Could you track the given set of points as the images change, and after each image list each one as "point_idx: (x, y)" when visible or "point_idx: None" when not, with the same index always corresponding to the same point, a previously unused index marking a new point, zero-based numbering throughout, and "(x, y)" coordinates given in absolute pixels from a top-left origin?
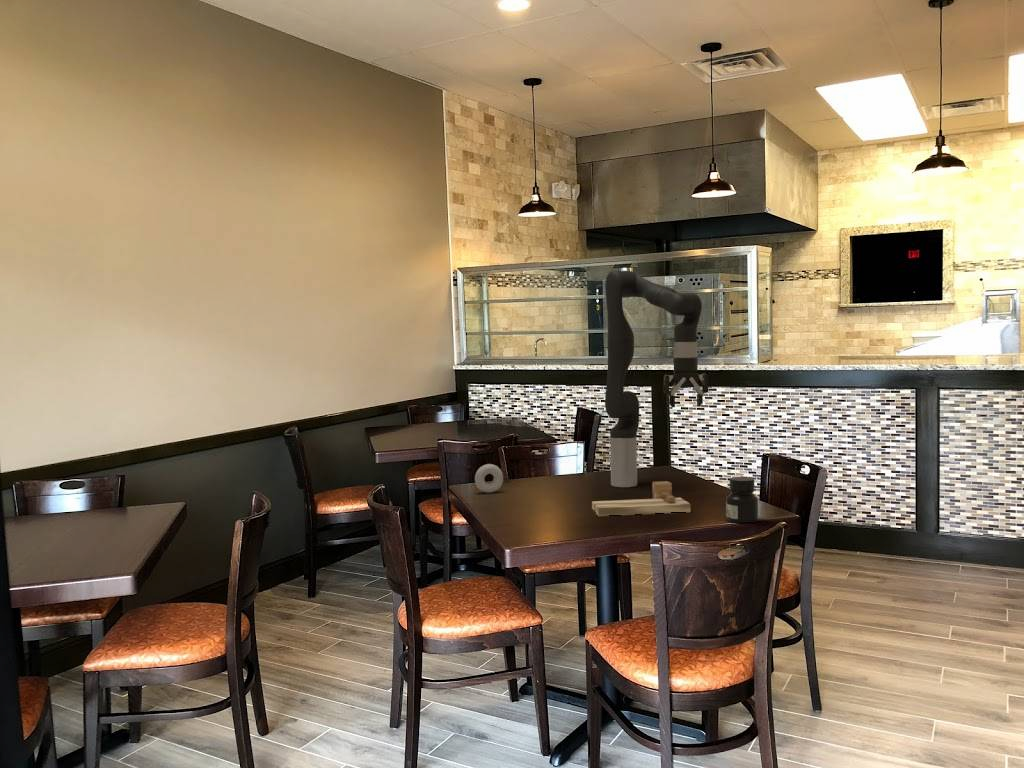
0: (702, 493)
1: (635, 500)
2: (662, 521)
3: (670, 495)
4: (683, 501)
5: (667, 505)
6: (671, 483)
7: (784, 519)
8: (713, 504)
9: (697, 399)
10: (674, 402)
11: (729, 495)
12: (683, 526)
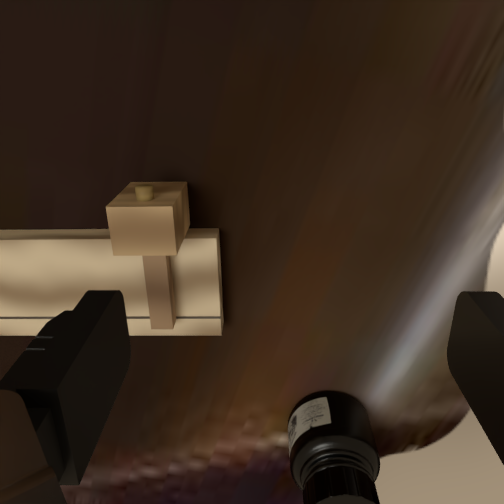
0: (376, 15)
1: (53, 253)
2: (123, 397)
3: (164, 300)
4: (209, 298)
5: (148, 334)
6: (176, 254)
7: (434, 431)
8: (332, 231)
9: (495, 371)
10: (106, 404)
11: (300, 470)
12: (165, 446)
